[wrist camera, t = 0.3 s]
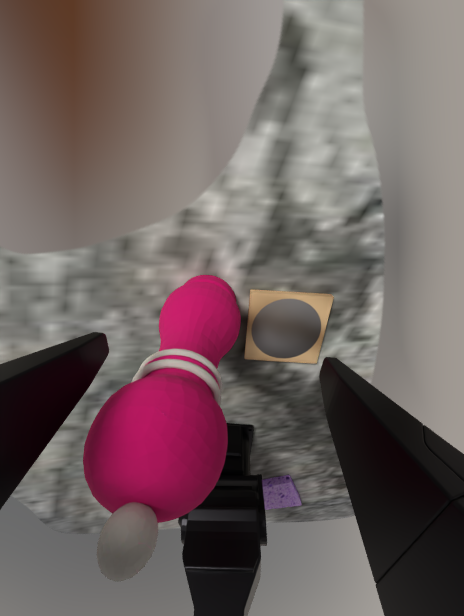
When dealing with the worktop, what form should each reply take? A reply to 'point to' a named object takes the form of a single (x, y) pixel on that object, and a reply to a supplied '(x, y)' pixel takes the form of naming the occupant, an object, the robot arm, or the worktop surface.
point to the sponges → (280, 493)
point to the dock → (286, 325)
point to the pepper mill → (163, 428)
